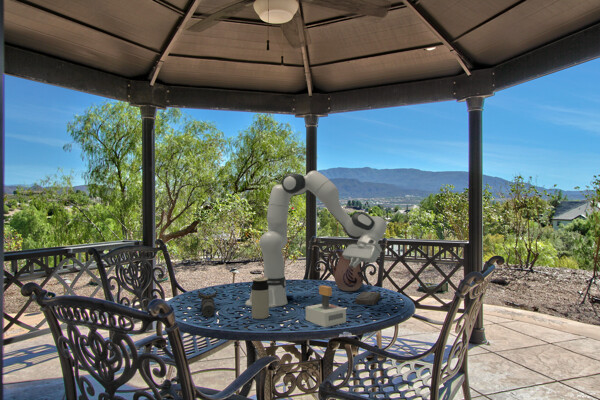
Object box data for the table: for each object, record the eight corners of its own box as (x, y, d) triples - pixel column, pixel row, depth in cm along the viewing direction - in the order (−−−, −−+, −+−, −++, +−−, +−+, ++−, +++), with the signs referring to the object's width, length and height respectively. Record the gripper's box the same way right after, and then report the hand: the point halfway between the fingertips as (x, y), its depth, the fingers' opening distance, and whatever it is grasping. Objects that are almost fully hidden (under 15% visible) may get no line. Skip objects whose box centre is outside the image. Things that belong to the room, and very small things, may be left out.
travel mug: (253, 320, 181) (253, 280, 181) (250, 315, 188) (250, 277, 189) (270, 318, 183) (270, 279, 183) (266, 314, 191) (266, 276, 191)
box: (381, 297, 223) (380, 292, 223) (374, 305, 207) (374, 299, 207) (362, 296, 227) (362, 291, 227) (354, 304, 211) (354, 298, 211)
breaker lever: (323, 304, 181) (323, 285, 182) (331, 306, 176) (331, 287, 177) (319, 305, 180) (319, 285, 180) (327, 307, 175) (327, 288, 175)
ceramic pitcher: (365, 293, 237) (365, 251, 237) (330, 293, 236) (330, 251, 237) (360, 287, 254) (360, 248, 255) (328, 287, 254) (327, 248, 254)
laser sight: (197, 318, 184) (197, 297, 185) (197, 307, 206) (197, 287, 206) (219, 317, 187) (219, 295, 187) (216, 305, 209) (216, 286, 209)
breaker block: (326, 315, 187) (326, 302, 187) (346, 322, 176) (346, 308, 176) (305, 319, 180) (305, 306, 180) (325, 327, 169) (325, 312, 169)
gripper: (348, 239, 201) (334, 260, 195) (378, 241, 185) (363, 264, 179) (355, 247, 204) (340, 268, 198) (385, 250, 187) (370, 273, 181)
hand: (351, 266), depth 188 cm, fingers closed
